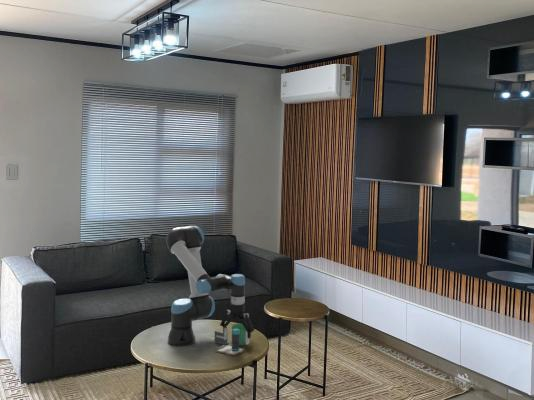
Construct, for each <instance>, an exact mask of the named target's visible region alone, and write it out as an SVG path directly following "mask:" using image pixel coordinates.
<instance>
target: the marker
mask: <svg viewBox="0 0 534 400" xmlns="http://www.w3.org/2000/svg"><path fill="white" fill-rule="evenodd" d="M239 334H240V330H239V329H232V328H231V346H232V351H239V348H240V345H239Z"/></svg>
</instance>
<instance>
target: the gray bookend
mask: <svg viewBox="0 0 534 400" xmlns="http://www.w3.org/2000/svg"><path fill="white" fill-rule="evenodd" d="M212 343H216V344H219V345H229V344H230V343H229V341H228V339H226V340H224V333H223V331H217V330H215V331H214V340H213V342H212Z"/></svg>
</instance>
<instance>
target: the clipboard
mask: <svg viewBox="0 0 534 400" xmlns="http://www.w3.org/2000/svg"><path fill="white" fill-rule="evenodd" d="M246 351H247V349H246V348H242V347H239V351H232V345H229V344H227V345H224V344H222V345H221V346H218V348H217V349H216V350H214V352H215V353H219V354H223V355H226V356H231V357H236V358H237V356H239V355H241V354H242V353H244V352H246Z"/></svg>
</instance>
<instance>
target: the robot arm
mask: <svg viewBox="0 0 534 400" xmlns="http://www.w3.org/2000/svg"><path fill="white" fill-rule="evenodd" d="M165 238H166V239H165V240H166V241H165V242H166V245H167V248H168V250H169V251H170V253H171V254H173V255H175V256H176V257H177V259H178V261H180V263H181V264H182V265H183V266H184V268H185V269H186V271H187V276H188V281H189V287H190V288H189V289H190V295H189V297H188V298H186V297H185V298H179V299H175V300H174V301H173V302H172V303H171V308H170V312H171V313H170V314H171V317H170V320H171V321H170V323H171V324H170V325H171V326H170V331H169V333H168V337H167V343H168V344H169V345H173V346H177V347H178V346H180V347H181V346H190V345H192V344H194V343H195V341H196V337H195V333H194V329H193V322H194V321H197V320H198V321H199V320H202V319H206V318H209V317H211V316H213V314H214V312H215V310H216V304H215V303H216V302H215V300H214V299H213V297H212V296H210V294H209V293H213V292H219V291H224V290H227V291H230V308H229V309H226V310H225V312H224V316H223V318H222V320H221V322H220V323H219V326H220V327H222V330H223V331H222V332H223V333H224V340H226V339H227V340H228V338H229V327H228V325H230V323H231V322H232V321H238V322H240V324H243V326H244V328H245V329H246V331H247V332H246V342H245V345H249V344H250V338H252V333H253V332H254V331H255V328H254V325H253V322H252V320H251V318H250V317H251V316H250V313H248V312H247V313H245V302H246V301H245V298H246V295H245V293H246V291H245V290H246V277H245V275H244V274H242V273H234V274H231V275H228V274H226V273H224V274H222V273H219V274H217V275H216V276H213V277H211V276H210V275H209V274H208V273H207V271H206V270H205V269H204V268H203V265H202V260H201V259H202V257H201V251H200V250H201V248H202V244H203V243H204V241H205V234H204V231H203V229H202V228H200V227H199V226H198V225H187V226H180V227H179V226H177V227H174V228H172V229H170V230H169V231H168V233H167V234H166V237H165ZM228 317H229V318H228Z"/></svg>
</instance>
